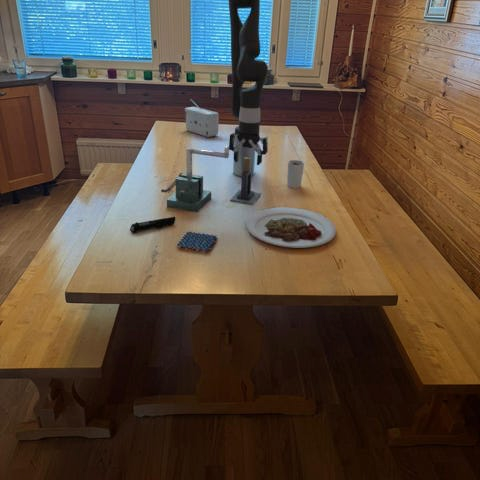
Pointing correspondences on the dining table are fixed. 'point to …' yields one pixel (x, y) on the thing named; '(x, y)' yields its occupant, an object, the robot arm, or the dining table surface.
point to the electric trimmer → (152, 224)
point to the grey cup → (295, 173)
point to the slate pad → (245, 200)
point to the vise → (192, 185)
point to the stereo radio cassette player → (202, 121)
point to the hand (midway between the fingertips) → (247, 163)
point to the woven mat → (197, 242)
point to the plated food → (291, 227)
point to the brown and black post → (246, 180)
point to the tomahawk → (170, 185)
